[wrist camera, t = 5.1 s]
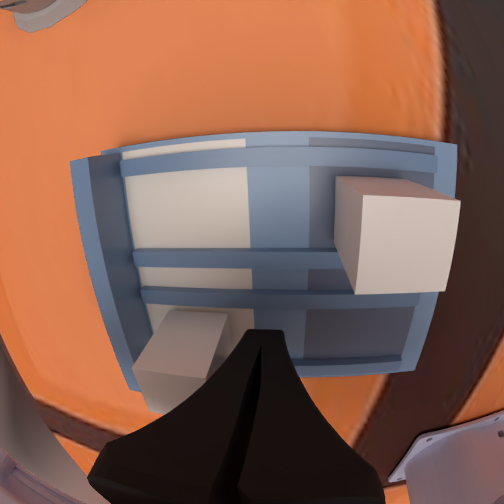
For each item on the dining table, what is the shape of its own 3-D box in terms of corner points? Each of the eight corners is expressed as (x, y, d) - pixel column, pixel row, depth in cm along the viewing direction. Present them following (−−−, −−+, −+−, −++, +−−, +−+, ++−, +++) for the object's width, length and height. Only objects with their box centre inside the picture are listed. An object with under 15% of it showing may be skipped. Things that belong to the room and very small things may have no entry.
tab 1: (228, 313, 11) (205, 378, 8) (232, 357, 12) (215, 422, 8) (169, 309, 11) (131, 367, 8) (178, 352, 12) (149, 411, 9)
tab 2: (405, 178, 8) (460, 200, 5) (399, 242, 9) (445, 290, 6) (335, 175, 9) (363, 195, 5) (333, 242, 9) (354, 294, 6)
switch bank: (441, 143, 9) (489, 148, 6) (407, 354, 12) (426, 399, 10) (116, 149, 11) (67, 155, 8) (154, 350, 14) (129, 392, 11)
